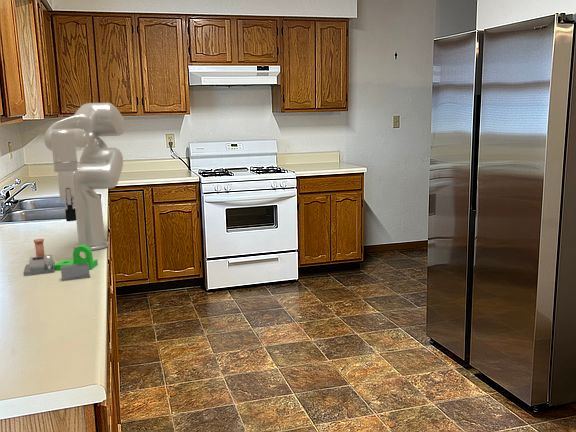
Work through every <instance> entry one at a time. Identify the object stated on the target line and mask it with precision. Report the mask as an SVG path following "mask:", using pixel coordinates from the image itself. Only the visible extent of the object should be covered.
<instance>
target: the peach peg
mask: <svg viewBox="0 0 576 432" xmlns="http://www.w3.org/2000/svg"><path fill="white" fill-rule="evenodd" d="M44 240H45V239H44V238H36V239H33V240H32V241H33V243H34V248H35V255H36V256H35V257H40V256H46V255H45V246H44V245H45V244H44Z"/></svg>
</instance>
